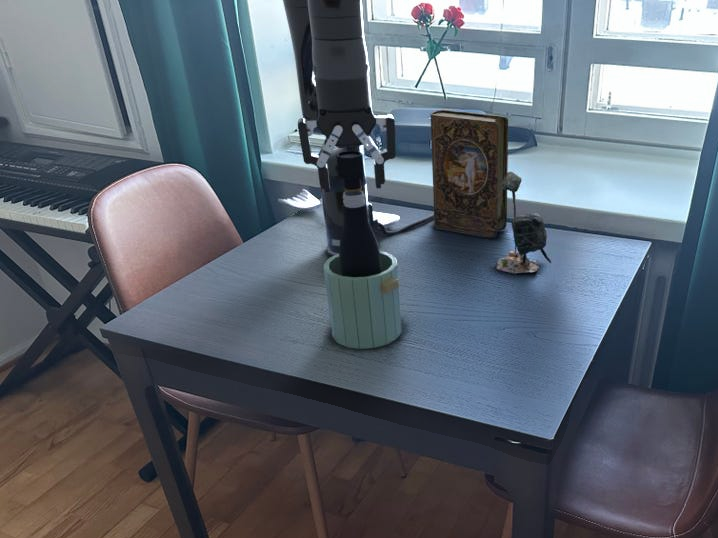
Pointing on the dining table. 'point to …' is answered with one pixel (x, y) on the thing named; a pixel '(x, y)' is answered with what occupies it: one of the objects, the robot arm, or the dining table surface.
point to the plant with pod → (523, 235)
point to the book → (469, 171)
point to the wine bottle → (356, 221)
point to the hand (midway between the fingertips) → (353, 188)
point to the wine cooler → (364, 304)
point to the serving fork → (313, 203)
